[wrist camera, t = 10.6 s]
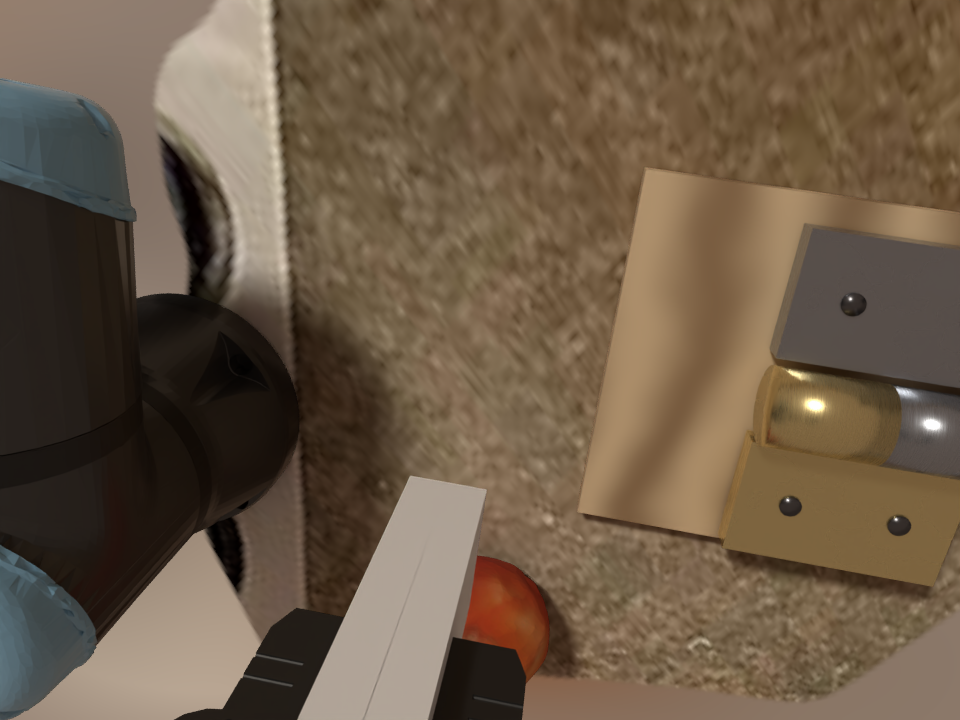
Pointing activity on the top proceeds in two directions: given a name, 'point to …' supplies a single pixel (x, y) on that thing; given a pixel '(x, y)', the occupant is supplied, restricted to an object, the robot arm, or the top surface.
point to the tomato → (508, 612)
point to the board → (708, 337)
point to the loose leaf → (835, 482)
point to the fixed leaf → (882, 328)
